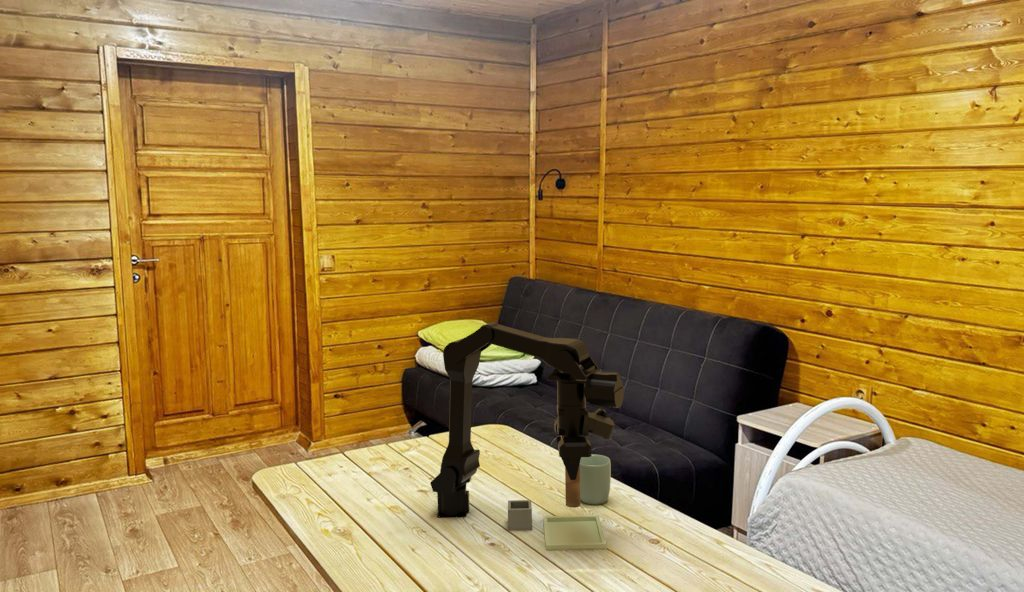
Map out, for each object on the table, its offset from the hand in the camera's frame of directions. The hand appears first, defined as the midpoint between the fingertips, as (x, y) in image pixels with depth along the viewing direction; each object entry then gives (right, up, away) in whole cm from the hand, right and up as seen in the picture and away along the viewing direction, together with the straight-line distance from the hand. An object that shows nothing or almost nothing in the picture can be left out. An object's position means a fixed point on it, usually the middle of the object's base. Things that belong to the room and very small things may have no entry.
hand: (572, 476), depth 161 cm
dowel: (0, -6, +1) cm, 6 cm away
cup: (+6, -10, +20) cm, 23 cm away
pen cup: (-11, -12, +7) cm, 18 cm away
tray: (0, -13, +2) cm, 13 cm away
